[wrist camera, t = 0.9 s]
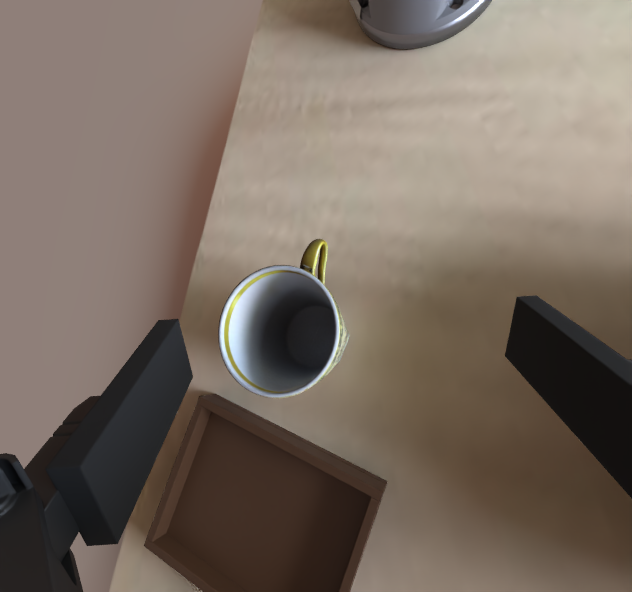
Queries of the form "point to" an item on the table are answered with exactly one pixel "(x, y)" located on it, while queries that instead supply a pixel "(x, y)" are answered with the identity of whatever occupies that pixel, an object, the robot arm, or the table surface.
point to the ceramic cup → (282, 328)
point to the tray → (261, 507)
